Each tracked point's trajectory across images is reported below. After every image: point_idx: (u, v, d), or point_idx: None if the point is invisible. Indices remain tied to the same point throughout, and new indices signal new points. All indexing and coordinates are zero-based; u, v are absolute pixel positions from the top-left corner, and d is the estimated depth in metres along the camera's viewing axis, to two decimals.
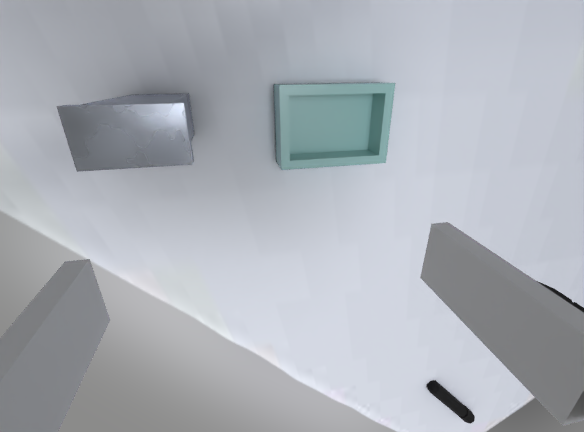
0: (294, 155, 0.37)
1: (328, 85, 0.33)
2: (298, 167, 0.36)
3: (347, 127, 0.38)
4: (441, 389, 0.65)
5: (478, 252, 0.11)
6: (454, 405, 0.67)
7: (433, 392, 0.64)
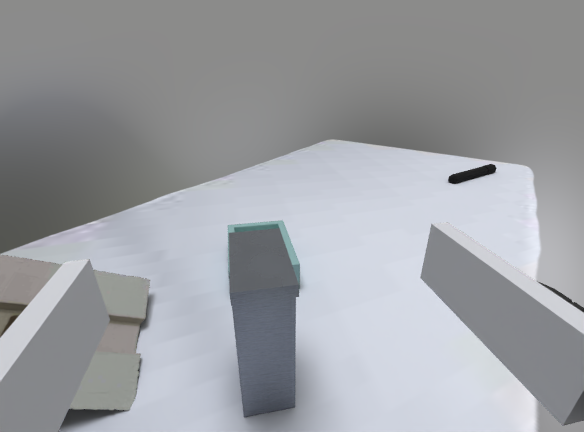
0: None
1: None
2: (295, 256, 0.41)
3: None
4: (452, 175, 0.81)
5: (478, 252, 0.11)
6: (471, 170, 0.84)
7: (455, 176, 0.79)
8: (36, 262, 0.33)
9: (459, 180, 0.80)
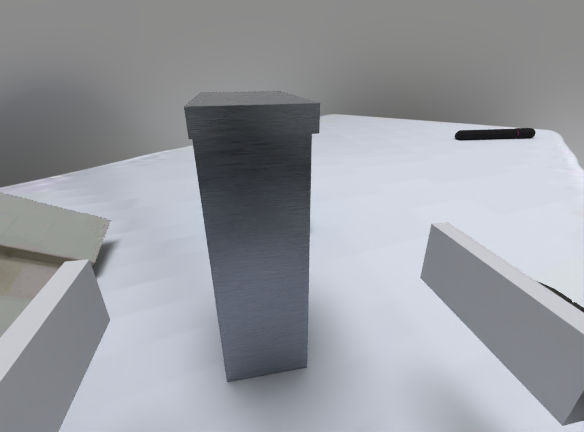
0: None
1: None
2: None
3: None
4: None
5: (478, 252, 0.11)
6: None
7: (461, 132, 0.73)
8: None
9: (466, 137, 0.73)
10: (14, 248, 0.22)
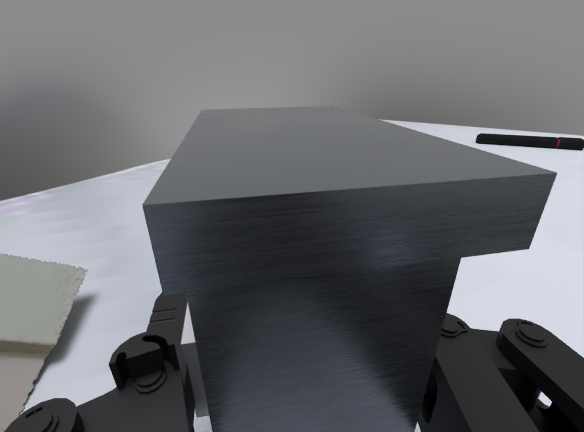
0: None
1: None
2: None
3: None
4: None
5: None
6: None
7: (481, 135, 0.70)
8: None
9: (485, 140, 0.70)
10: None
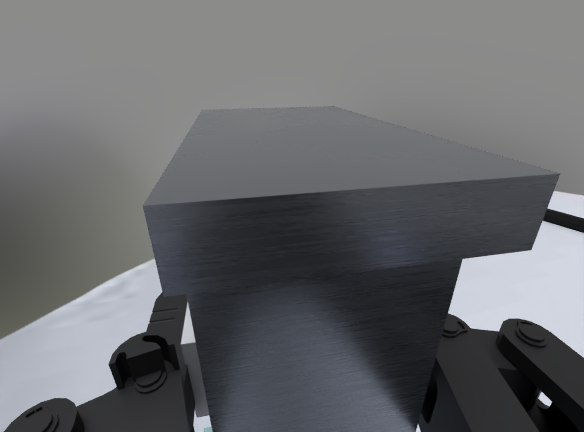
0: None
1: None
2: None
3: None
4: None
5: None
6: (571, 215, 0.58)
7: None
8: None
9: None
10: None
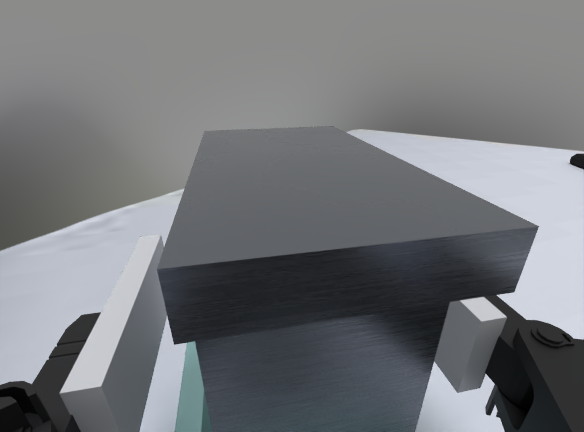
0: None
1: None
2: None
3: None
4: None
5: None
6: None
7: None
8: None
9: (574, 161, 0.59)
10: None
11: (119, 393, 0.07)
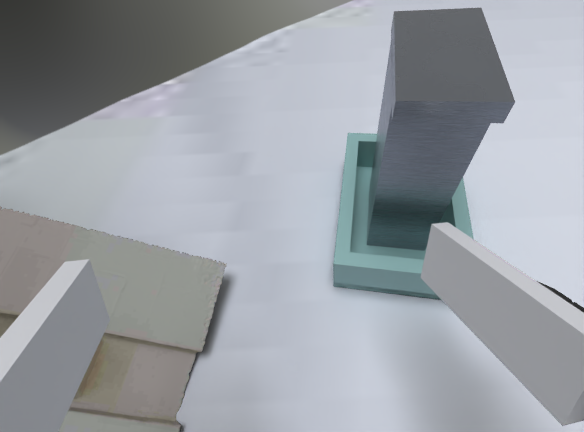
0: None
1: (341, 201, 0.23)
2: None
3: None
4: None
5: (478, 252, 0.11)
6: None
7: None
8: (52, 225, 0.20)
9: None
10: (122, 336, 0.20)
11: None
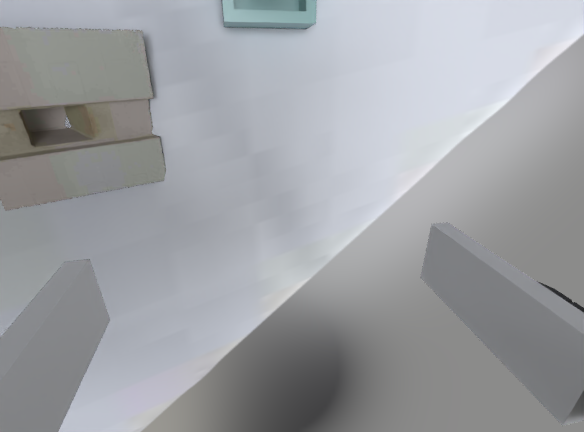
0: (300, 3, 0.32)
1: None
2: None
3: None
4: None
5: (478, 252, 0.11)
6: None
7: None
8: None
9: None
10: (99, 102, 0.30)
11: None
